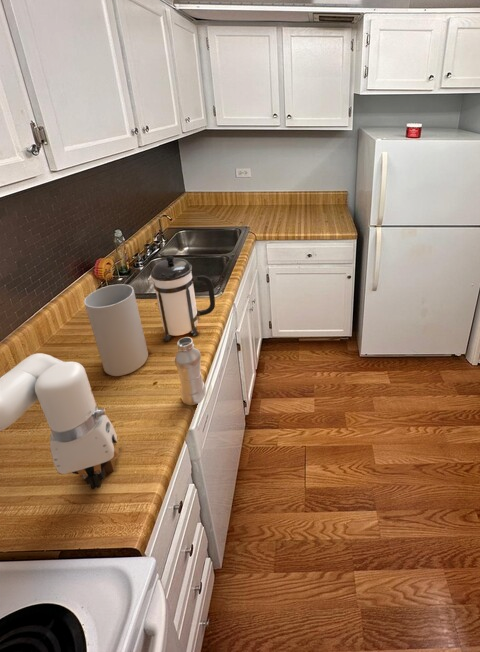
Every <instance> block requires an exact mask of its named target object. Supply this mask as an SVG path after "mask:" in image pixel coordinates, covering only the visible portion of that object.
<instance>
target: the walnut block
mask: <svg viewBox="0 0 480 652" xmlns="http://www.w3.org/2000/svg"><path fill="white" fill-rule="evenodd" d="M115 445H116V446H117V443H115ZM116 462H117V458H116V459H114V460H112V461H108V463H107V464H106V465H105V466H104V470H105V475H107V474H110V473H113V472H115V468H116Z"/></svg>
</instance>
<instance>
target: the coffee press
mask: <svg viewBox="0 0 480 652" xmlns="http://www.w3.org/2000/svg"><path fill="white" fill-rule="evenodd" d="M192 270H193V265H192V264H191V263H190V262H189V261H188V260H186V259H184V258H181V257H174V256H173V255H171V254H170V255H167V256H166V259H163V260H160V261H159V262H157V263H156V264H155V265H154V266H153V267H152V270H151V272H150V275H149V277H148V278H147V280H148V281H152V282H153V288H154V290H155V294H156V299H157V304H158V310H159V314H160V320H161V325H162V330H163V331H164V336H163V339H162V340H163V341H165V342H169V341H170V340H171V338H172V336H173V337H174V336H176V337H177V336H183V335H187V334H189V333H190V334H191V335H192V337H196V336H197V335H199V331H198V330H197V328H196V327H197V326H198V325H199V317H203V316H206V315H209V314H211V313H212V312H213V311H214V310H215V308H216V307H215V306H216V298H215V290H214V283H213V282H212V279H211V278H209V277H208V276H207V275H204V274H203V275H201V274H200V275H199V274H198V275H195V276H194V275H193V273H192ZM197 281H198V282H204V283H205V284H206V285H207V288H208V289H207V290H208V296H209V297H208V298H209V306H208V307H207V308H206V309H202V310H199V309H198V308H197V301H196V295H195V288H194V282H197Z"/></svg>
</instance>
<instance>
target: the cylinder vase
mask: <svg viewBox="0 0 480 652" xmlns="http://www.w3.org/2000/svg"><path fill="white" fill-rule="evenodd" d="M83 303H84V306H85V310H86V313H87V317H88V320H89V321H88V322H89V323H90V324H89V325H90V327H91V330H92V334H93V337H94V341H95V343H96V348H97V351H98V354H99V357H100V361H101V364H102V369H103V370H104V372H105V374H107V375H109V376H112V377H121V376H127V375H130V374H132V373H134V372H136V371H138V370H139V369H140V368H141V367H142V366H143V365H145V363H146V362H147V359H148V358H149V351H148V347H147V342H146V338H145V334H144V329H143V325H142V321H141V315H140V311H139V307H138V306H139V305H138V302H137V298H136V294H135V290H134V286H132V285H130V284H124V283H119V284H117V283H116V284H111V285H106V286H103V287H100V288H98V289H96V290H94V291H92V292H90V293H89V294H87V296H85V298H84V300H83Z"/></svg>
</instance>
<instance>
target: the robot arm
mask: <svg viewBox="0 0 480 652" xmlns="http://www.w3.org/2000/svg"><path fill="white" fill-rule="evenodd" d="M37 402H38V403H39V405H40V407H41V410H42V412H43V415H44V417H45V420H46V422H47V424H48V427H49V430H50V432H51V433H50V436H49V444H50V453H51V459H52V462H53V463H52V464H53V465H54V468H55V470H56V472H57V473H58V474H59V475H67V474H74V475H79V477H80V478H81V479H84V480H85V482H86V484H87V485H89V487H90V488H89V489H90V490H91V491H94V490H95V489H99V488H101V487H102V483H103V481H104V480H105V478H106V474H105V470H104V466H105V465H106V464H107V463H108V461H112V460H114V459H116V460H117V459H118V458H119V457H120V453H121V451H120V449H119V447H118V446H117V444H118V434H117V432H116V430H115V427H114V425H113V423H112V422H111V420H110V418H109V417H108V416H107V408H106V407H104V408H102V407H99V405H98V403H96V399H95V397H94V392H93V390H92V387H91V385H90V381H89V378H88V375H87V371H86V369H85V367H84V365H82V364H81V363H80V362H78V361H72V360H71V361H64V360H61V359H59V358H56V357H54V356H52V355H51V354H46V353H41V352H38V353H37V352H36V353H33V354H31V355H29V356H27V357H25V358H24V359H23V360H21V361H20V362H19V363H18V364H16V365H15V366H14V367H12V368H11V369H10V370H8V371H7V372H5V373H4V374H3V375H2V376H0V432H1V431H4V430H6V429H7V428H9V427H11V425H13V424H14V423H15V422H16V421H18V420H19V419H20V417H22V416H23V415H24V414H25V413H26V412H27V411H28V410H29V409H31V407H32V406H33V405H35V404H36V403H37ZM115 443H116V445H115Z"/></svg>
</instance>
